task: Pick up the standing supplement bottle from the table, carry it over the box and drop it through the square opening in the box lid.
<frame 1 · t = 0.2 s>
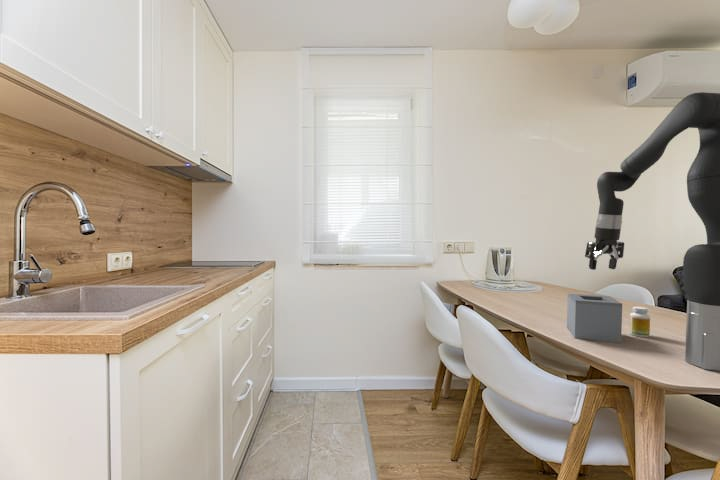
hand: (602, 269, 126), 22 cm above the table, tool pointing down, fingers open, 8 cm apart
drop box: (592, 334, 117), on the table
supplement bottle: (639, 335, 117), on the table
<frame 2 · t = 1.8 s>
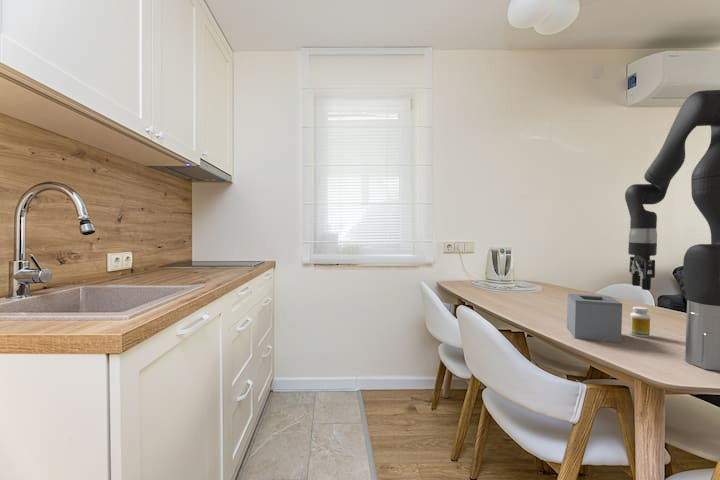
hand: (640, 287, 117), 17 cm above the table, tool pointing down, fingers open, 8 cm apart
nothing on the table moved.
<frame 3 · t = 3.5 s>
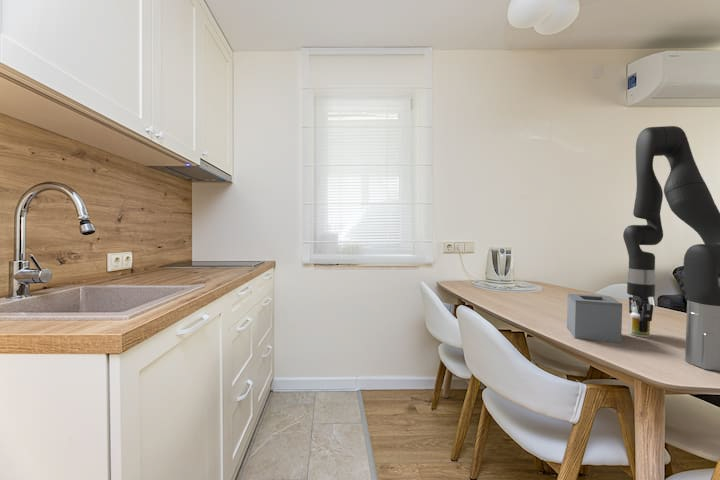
hand: (639, 329, 117), 2 cm above the table, tool pointing down, fingers closed on supplement bottle, 5 cm apart
supplement bottle: (639, 335, 117), on the table, touching gripper
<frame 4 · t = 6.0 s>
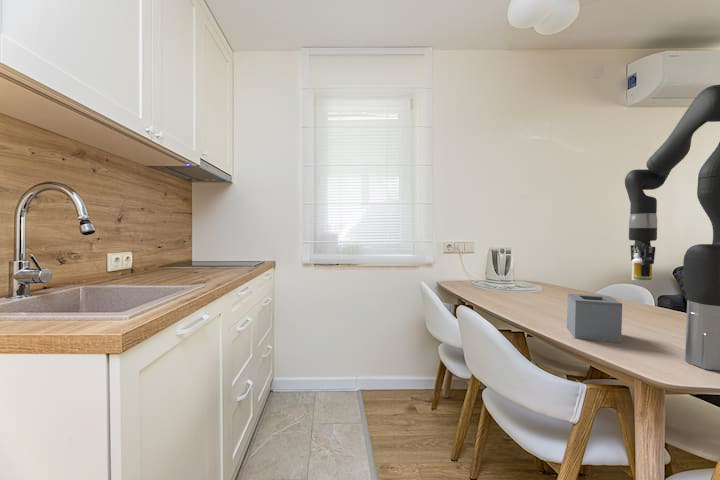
hand: (641, 275, 116), 21 cm above the table, tool pointing down, fingers closed on supplement bottle, 5 cm apart
supplement bottle: (641, 281, 116), point 19 cm above the table, touching gripper
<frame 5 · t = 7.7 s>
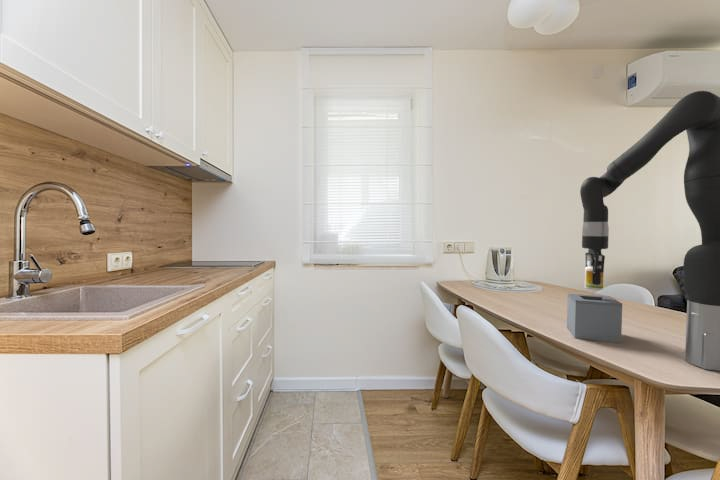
hand: (593, 282, 117), 18 cm above the table, tool pointing down, fingers closed on supplement bottle, 5 cm apart
supplement bottle: (593, 289, 117), point 16 cm above the table, touching gripper
when the fingers open (16 cm above the table, at t = 8.5 s): supplement bottle drops 14 cm, resting on drop box.
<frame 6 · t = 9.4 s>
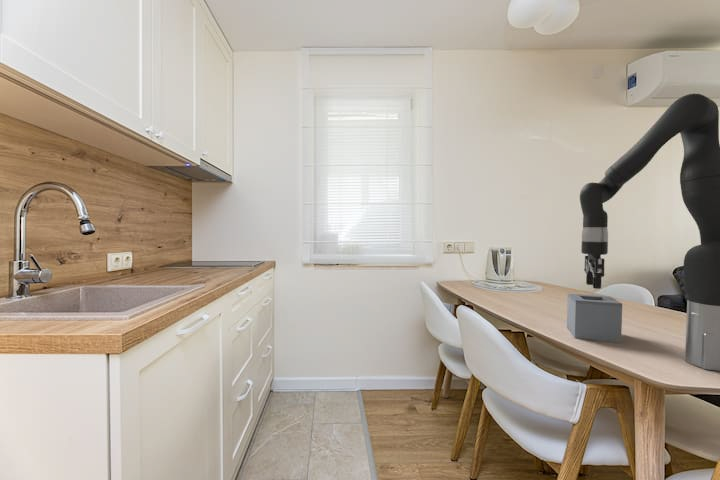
hand: (593, 286, 117), 17 cm above the table, tool pointing down, fingers open, 8 cm apart
supplement bottle: (592, 333, 117), resting on drop box
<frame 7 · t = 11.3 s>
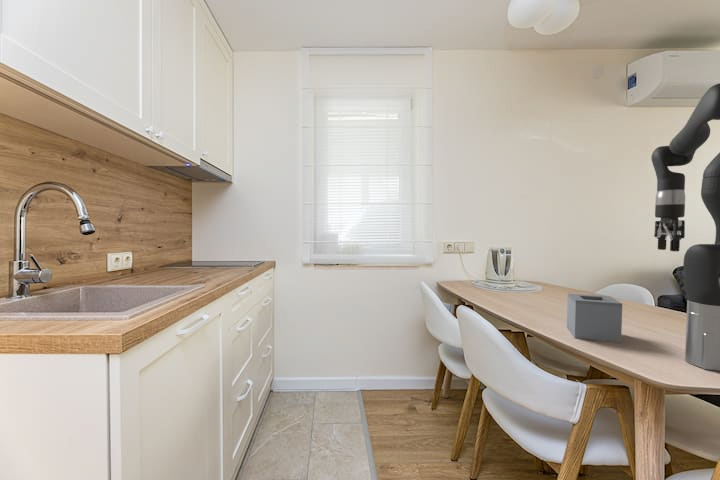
hand: (667, 250, 116), 30 cm above the table, tool pointing down, fingers open, 8 cm apart
nothing on the table moved.
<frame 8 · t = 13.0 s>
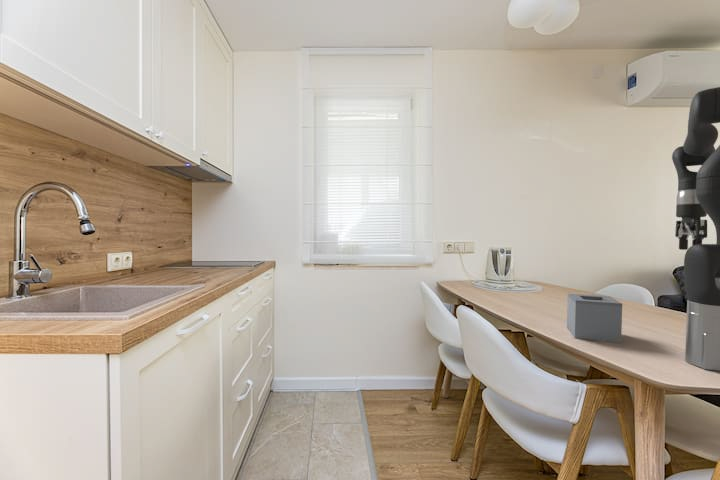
hand: (689, 250, 115), 30 cm above the table, tool pointing down, fingers open, 8 cm apart
nothing on the table moved.
at the end: supplement bottle inside the target area on the drop box (0.4 cm from its centre), point 0.3 cm above the drop box's base; the gripper is holding nothing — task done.
